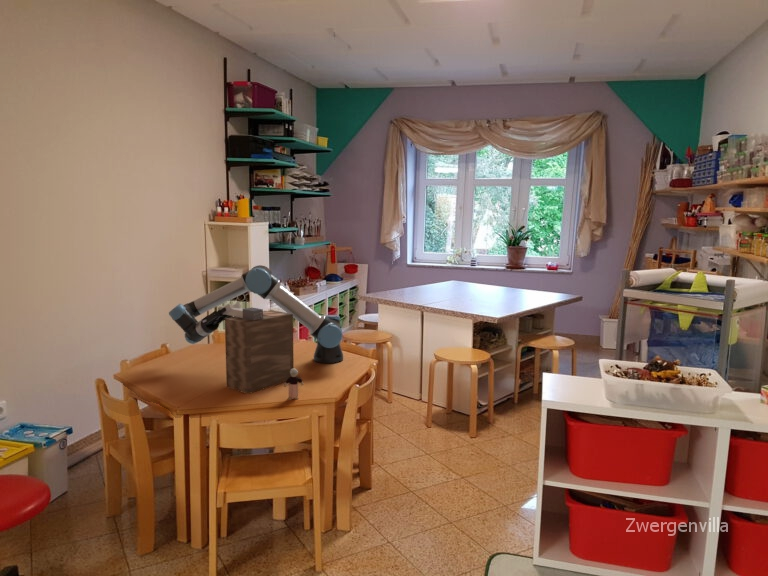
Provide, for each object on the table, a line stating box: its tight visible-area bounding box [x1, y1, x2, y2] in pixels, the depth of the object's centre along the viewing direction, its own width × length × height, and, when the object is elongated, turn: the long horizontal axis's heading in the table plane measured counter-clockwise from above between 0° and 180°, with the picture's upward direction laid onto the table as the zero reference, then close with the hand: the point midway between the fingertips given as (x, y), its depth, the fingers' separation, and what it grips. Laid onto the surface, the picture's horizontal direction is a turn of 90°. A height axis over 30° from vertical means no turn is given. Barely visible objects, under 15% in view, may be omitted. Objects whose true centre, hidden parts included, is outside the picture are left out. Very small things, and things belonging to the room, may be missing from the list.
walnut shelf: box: [224, 309, 295, 395], centre depth 244 cm, size 14×26×30 cm, turn 143°
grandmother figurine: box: [284, 367, 304, 401], centre depth 226 cm, size 8×4×13 cm, turn 114°
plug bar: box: [217, 304, 264, 321], centre depth 241 cm, size 26×5×4 cm, turn 52°
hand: (235, 305), depth 242 cm, fingers closed on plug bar, 4 cm apart
